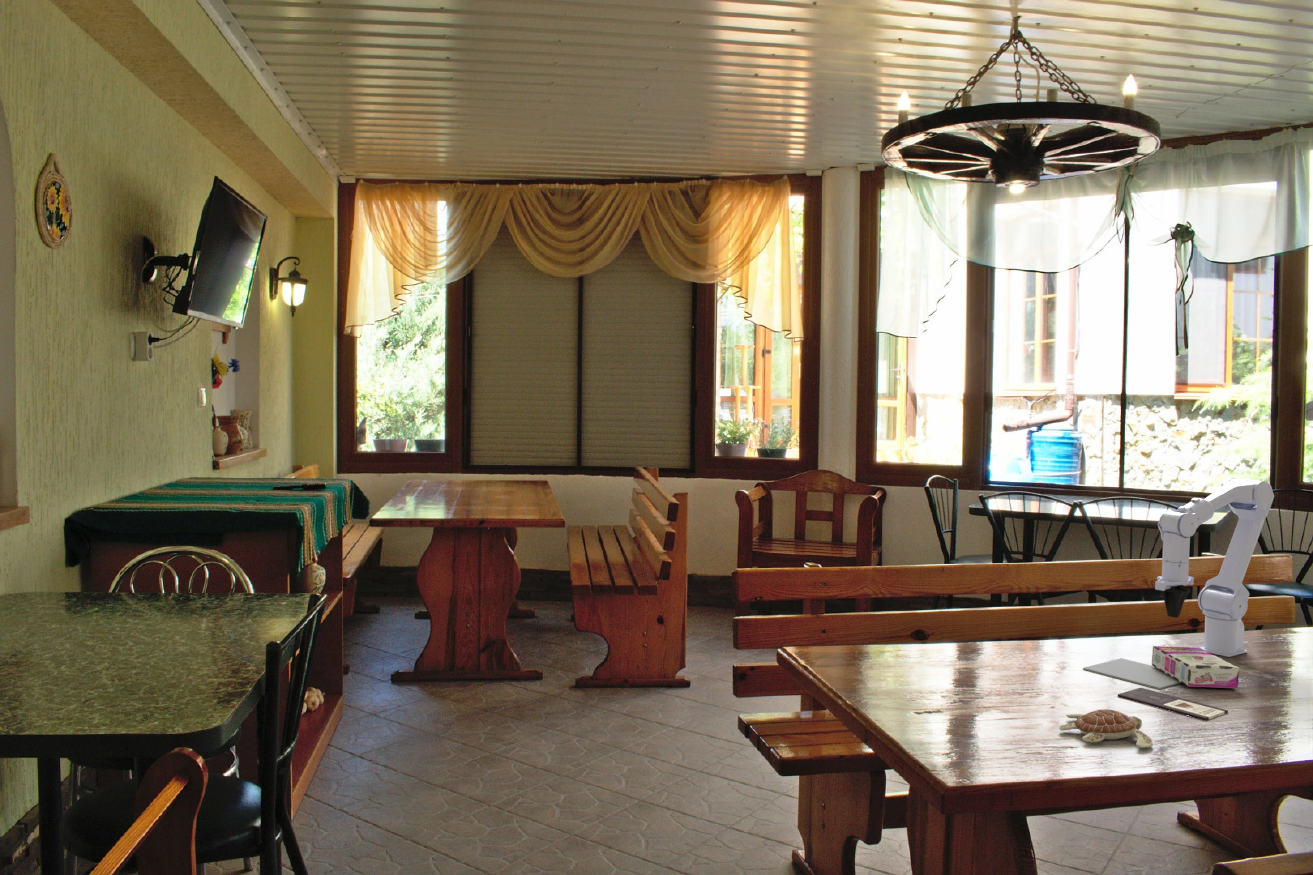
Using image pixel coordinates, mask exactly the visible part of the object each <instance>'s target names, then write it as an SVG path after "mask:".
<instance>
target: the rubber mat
mask: <svg viewBox="0 0 1313 875" xmlns="http://www.w3.org/2000/svg"><path fill="white" fill-rule="evenodd" d="M1082 670H1083V671H1087V672H1092V673H1096V674H1100V675H1103V676H1106V677H1110V678H1114V679H1118V680H1120V681H1121V680H1122V681H1126V682H1130V683H1134V684H1137V685H1141V686H1145V687H1149V688H1153V689H1156V690H1163V689H1166V688H1170V687H1173V685H1174V686H1177V685H1180V684H1182V683H1181V682H1179V681H1178V680H1176V679H1174V678H1173V677H1171V676H1170V675H1168V674H1166V673H1164V672H1163V671H1161V670H1159V669H1157V668H1156V667H1154V666H1152V664H1148V663H1147V664H1146V663H1142V662H1139V661H1135V660H1132V659H1127V658H1122V657H1121V658H1118V659H1112V660H1109V661H1105V662H1101V663H1098V664H1093V665H1089V666H1085V667H1082Z"/></svg>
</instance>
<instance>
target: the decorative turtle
mask: <svg viewBox="0 0 1313 875" xmlns="http://www.w3.org/2000/svg"><path fill="white" fill-rule="evenodd" d="M1065 716H1066V718H1068V719H1075V720H1074V722H1071V723H1066V724H1062V725H1060V726H1059V727H1058V729H1059V730H1060V731H1069V730H1079V731H1080V732H1081V734H1082V735H1084V736H1082V740H1083V741H1085V742H1087V743H1100V742H1101V741H1103V740H1119V739H1124V738H1128V737H1131V736H1132V735H1133V736H1134V737H1135V738H1136V740H1137V741H1136V744H1135V745H1136V747H1137V748H1139V749H1144V748H1150V747H1152V746H1153V745H1154V743H1153V740H1152V738H1151V737H1150V736H1148V735H1147V734H1146V733H1144V732H1142V731H1141V730H1140V729H1141V728H1142V724H1143V723H1142V722H1143V721H1142V719H1141V718H1139V717H1137V716H1131V715H1130V716H1129V715H1128V714H1127V715H1126V714H1124V713H1122V712H1121V711H1118V710H1113V709H1108V708H1107V709H1096V710H1094V711H1093V710H1092V711H1089V712H1088V713H1085V714H1084V713H1083V714H1082V713H1081V714H1080V713H1074V714H1073V713H1072V714H1070V713H1069V714H1065Z"/></svg>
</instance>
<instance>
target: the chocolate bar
mask: <svg viewBox="0 0 1313 875" xmlns="http://www.w3.org/2000/svg"><path fill="white" fill-rule="evenodd" d="M1117 698H1122V699H1125V700H1128V701H1133V702H1135V703H1138V704H1143V705H1146V706H1150V707H1153V706H1154V707H1153V708H1157V707H1158V708H1157V709H1160V708H1161V710H1164V711H1168V710H1170V711H1169V712H1171V711H1173V712H1172V713H1175V712H1176V713H1175V714H1180V715H1182V716H1186V715H1189V716H1191V717H1190V718H1193V717H1194V718H1193V719H1197V720H1200V719H1202V720H1201V721H1204V720H1206V721H1209V720H1213V719H1215V718H1217V716H1218V717H1220V715H1221V716H1223V715H1226V714H1228V713H1229V711H1228V709H1225V708H1222V707H1217V706H1212V705H1210V704H1209V705H1208V704H1205V703H1201V702H1198V701H1195V700H1194V701H1193V700H1190V699H1188V698H1187V699H1186V698H1182V697H1179V696H1174V695H1171V694H1168V693H1164V692H1163V693H1162V692H1160V691H1156V690H1151V689H1148V688H1144V687H1137V688H1134V689H1131V690H1128V691H1124V692H1121V693H1117ZM1189 716H1188V717H1189ZM1214 717H1215V718H1214ZM1208 719H1209V720H1208Z"/></svg>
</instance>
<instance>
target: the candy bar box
mask: <svg viewBox="0 0 1313 875" xmlns="http://www.w3.org/2000/svg"><path fill="white" fill-rule="evenodd" d="M1151 666H1154V667H1156V668H1157V669H1159V670H1161V671H1163V672H1164V673H1166V674H1168V675H1170V676H1171V677H1173V678H1174V679H1176V680H1178V681H1179V682H1181V683H1180V684H1183V685H1184V686H1187V687H1190V688H1219V689H1220V688H1222V689H1238V688H1239V675H1240V667H1238V666H1236V665H1234V664H1233V663H1230V662H1228V661H1227V660H1225V659H1223V658H1221V657H1219V656H1218V655H1217V656H1216V654H1213V653H1209V652H1207V651H1205V650H1203V649H1201V648H1199V647H1189V646H1188V647H1187V646H1186V647H1185V646H1161V645H1160V646H1159V645H1152V655H1151Z"/></svg>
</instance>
